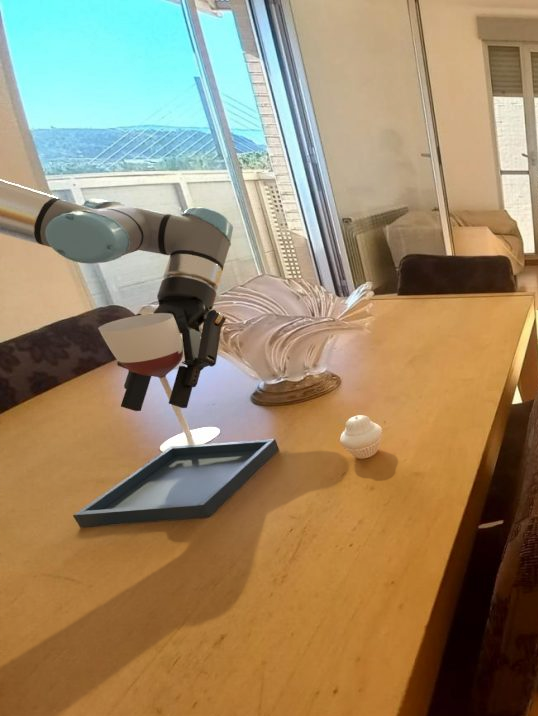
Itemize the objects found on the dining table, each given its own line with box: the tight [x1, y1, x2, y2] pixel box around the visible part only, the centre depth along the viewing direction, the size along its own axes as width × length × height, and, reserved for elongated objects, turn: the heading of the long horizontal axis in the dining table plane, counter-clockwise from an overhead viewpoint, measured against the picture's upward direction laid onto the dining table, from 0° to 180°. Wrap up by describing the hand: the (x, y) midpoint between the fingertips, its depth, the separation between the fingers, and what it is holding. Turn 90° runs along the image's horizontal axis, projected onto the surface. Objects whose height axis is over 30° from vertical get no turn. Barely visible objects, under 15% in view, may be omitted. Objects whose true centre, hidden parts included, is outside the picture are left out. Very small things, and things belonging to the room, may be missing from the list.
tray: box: [72, 438, 280, 528], centre depth 71 cm, size 17×17×2 cm
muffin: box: [339, 414, 383, 460], centre depth 77 cm, size 6×6×7 cm
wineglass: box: [98, 312, 221, 453], centre depth 80 cm, size 9×10×22 cm
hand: (154, 406), depth 77 cm, fingers closed on wineglass, 7 cm apart
